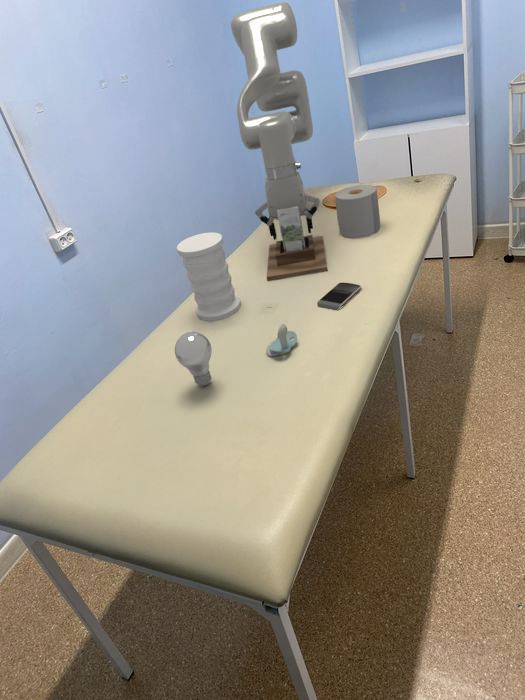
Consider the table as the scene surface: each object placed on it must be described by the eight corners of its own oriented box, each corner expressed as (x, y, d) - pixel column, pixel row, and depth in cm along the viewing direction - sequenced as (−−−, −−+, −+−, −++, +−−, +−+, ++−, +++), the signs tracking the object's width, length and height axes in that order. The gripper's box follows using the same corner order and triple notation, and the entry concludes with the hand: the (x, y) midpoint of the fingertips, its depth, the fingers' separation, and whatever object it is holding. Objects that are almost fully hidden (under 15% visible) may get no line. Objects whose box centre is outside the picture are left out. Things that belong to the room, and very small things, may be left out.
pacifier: (261, 358, 103) (286, 361, 100) (253, 333, 100) (279, 335, 97) (276, 338, 108) (301, 340, 105) (270, 314, 105) (295, 315, 102)
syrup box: (306, 248, 141) (298, 198, 133) (306, 257, 136) (297, 206, 128) (286, 252, 142) (277, 202, 134) (286, 260, 137) (276, 210, 129)
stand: (270, 248, 150) (267, 235, 148) (323, 239, 148) (321, 225, 145) (267, 281, 132) (264, 266, 130) (327, 271, 130) (325, 256, 127)
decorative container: (229, 292, 131) (212, 228, 121) (249, 307, 122) (231, 239, 112) (189, 309, 128) (168, 244, 118) (207, 326, 118) (185, 257, 109)
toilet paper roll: (386, 222, 148) (383, 183, 142) (371, 239, 141) (367, 199, 134) (349, 222, 155) (344, 185, 148) (332, 238, 147) (327, 199, 141)
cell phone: (363, 289, 118) (362, 284, 118) (338, 313, 112) (338, 307, 111) (341, 286, 122) (340, 281, 121) (316, 308, 116) (315, 303, 115)
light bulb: (208, 399, 95) (190, 347, 88) (181, 392, 99) (162, 342, 92) (228, 377, 99) (213, 326, 93) (201, 371, 103) (185, 322, 97)
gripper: (314, 160, 128) (323, 224, 138) (248, 174, 131) (262, 235, 140) (315, 168, 122) (324, 234, 131) (246, 182, 125) (260, 245, 134)
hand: (292, 234), depth 136 cm, fingers open, 9 cm apart
